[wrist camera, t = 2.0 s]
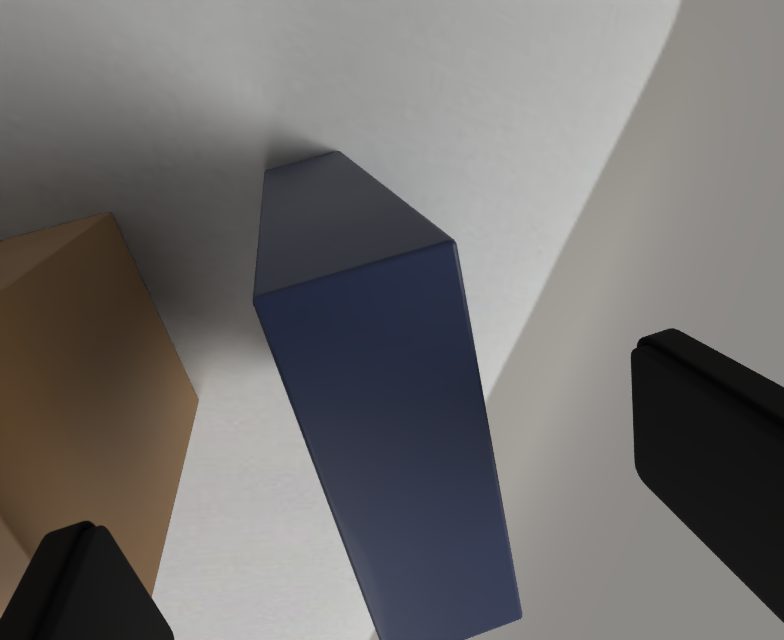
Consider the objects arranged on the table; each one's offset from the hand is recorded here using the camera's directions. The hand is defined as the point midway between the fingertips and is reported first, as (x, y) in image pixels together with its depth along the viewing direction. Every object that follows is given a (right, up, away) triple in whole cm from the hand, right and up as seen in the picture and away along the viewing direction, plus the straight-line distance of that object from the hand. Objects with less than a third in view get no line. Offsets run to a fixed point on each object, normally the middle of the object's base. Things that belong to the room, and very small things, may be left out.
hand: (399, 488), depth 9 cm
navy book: (-2, +5, +11) cm, 12 cm away
